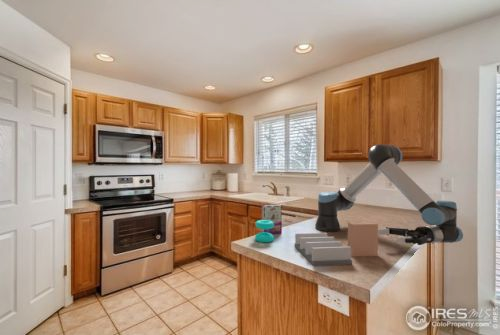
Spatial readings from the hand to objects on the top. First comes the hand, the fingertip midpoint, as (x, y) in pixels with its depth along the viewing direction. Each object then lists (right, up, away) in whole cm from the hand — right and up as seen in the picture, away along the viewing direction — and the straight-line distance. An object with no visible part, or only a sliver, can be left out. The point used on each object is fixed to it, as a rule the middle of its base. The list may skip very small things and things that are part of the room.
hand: (386, 235), depth 108 cm
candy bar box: (-49, -8, +33) cm, 60 cm away
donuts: (-54, -8, +18) cm, 58 cm away
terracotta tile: (-12, -8, -1) cm, 14 cm away
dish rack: (-31, -8, -2) cm, 32 cm away
